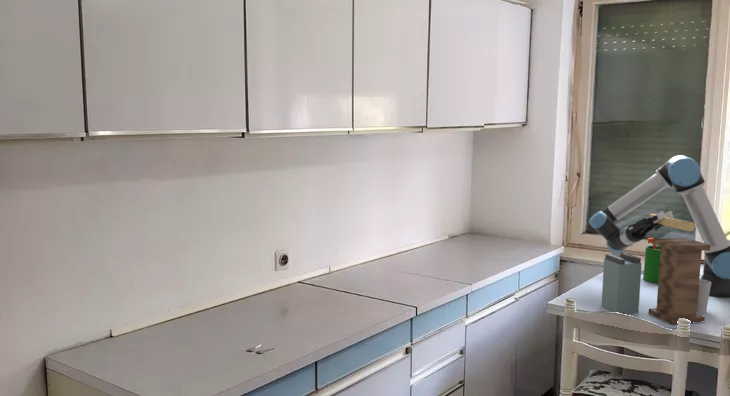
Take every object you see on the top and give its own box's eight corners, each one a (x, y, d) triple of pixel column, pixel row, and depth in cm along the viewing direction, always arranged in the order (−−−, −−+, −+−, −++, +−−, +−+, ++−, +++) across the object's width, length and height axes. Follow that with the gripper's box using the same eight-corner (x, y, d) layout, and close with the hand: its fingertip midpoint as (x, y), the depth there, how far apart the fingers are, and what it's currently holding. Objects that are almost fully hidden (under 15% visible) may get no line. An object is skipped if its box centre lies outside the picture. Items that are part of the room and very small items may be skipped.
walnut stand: (648, 313, 256) (653, 239, 252) (678, 311, 259) (684, 237, 255) (672, 324, 242) (678, 246, 238) (704, 322, 245) (710, 244, 241)
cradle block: (601, 306, 264) (604, 254, 261) (623, 305, 267) (626, 252, 264) (616, 314, 255) (619, 259, 252) (638, 312, 257) (641, 258, 254)
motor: (666, 283, 300) (669, 241, 297) (645, 282, 302) (648, 240, 299) (660, 278, 310) (663, 237, 307) (641, 277, 312) (643, 236, 309)
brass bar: (648, 221, 262) (649, 213, 262) (655, 221, 263) (655, 213, 263) (687, 231, 241) (688, 223, 241) (694, 230, 242) (694, 222, 241)
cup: (682, 307, 264) (684, 279, 262) (701, 307, 264) (703, 278, 263) (694, 313, 256) (696, 284, 254) (713, 313, 257) (715, 283, 255)
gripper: (651, 241, 275) (687, 222, 254) (618, 243, 272) (652, 223, 250) (647, 225, 278) (682, 204, 257) (614, 226, 274) (647, 205, 253)
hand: (667, 214), depth 254 cm, fingers closed on brass bar, 3 cm apart
